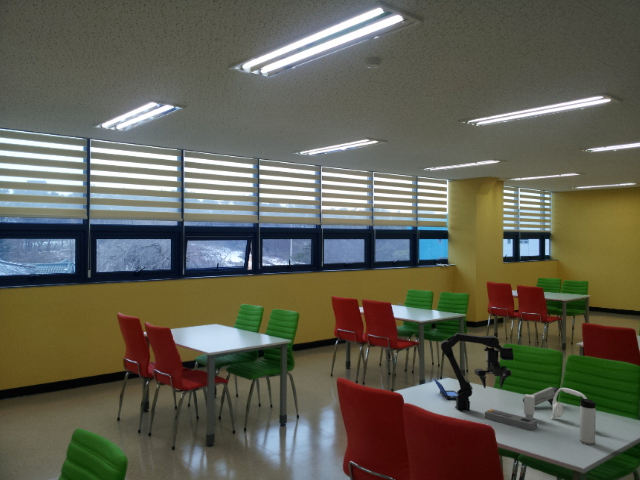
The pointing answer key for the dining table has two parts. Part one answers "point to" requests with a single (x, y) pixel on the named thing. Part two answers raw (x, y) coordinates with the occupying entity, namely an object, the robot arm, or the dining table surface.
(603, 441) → the dining table surface
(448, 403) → the dining table surface
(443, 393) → the handheld game console
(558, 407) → the headset
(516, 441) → the dining table surface
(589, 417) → the travel mug
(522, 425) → the power strip
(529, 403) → the plain gray block
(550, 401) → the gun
